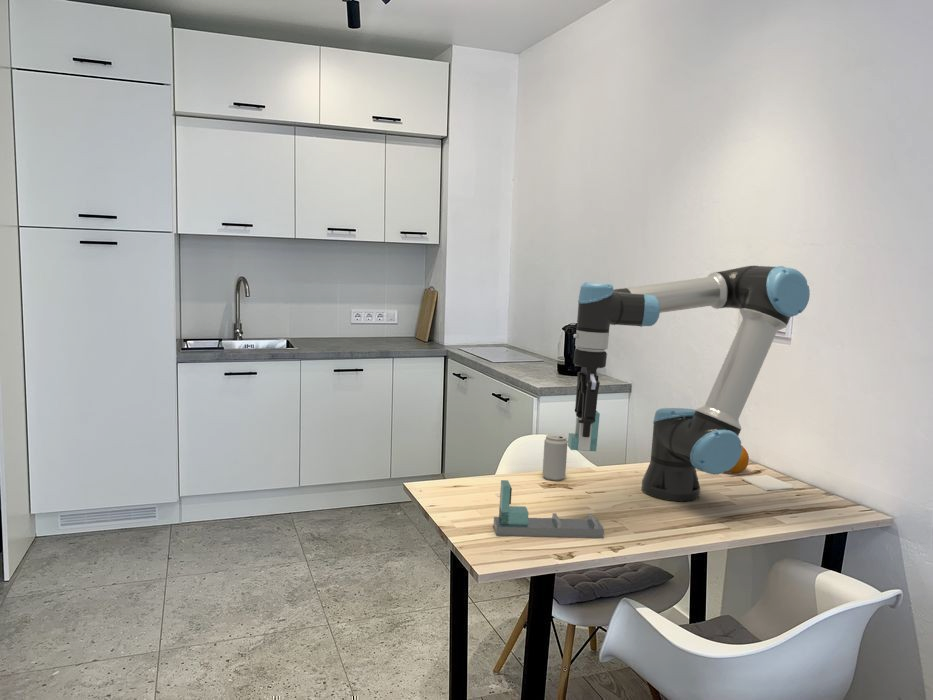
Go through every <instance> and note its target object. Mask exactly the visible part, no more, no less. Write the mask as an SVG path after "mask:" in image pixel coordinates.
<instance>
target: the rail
mask: <svg viewBox="0 0 933 700" xmlns="http://www.w3.org/2000/svg"><path fill="white" fill-rule="evenodd" d="M512 489H513V488H512V486H511V484H510V482H509V480H508V479H507V480H500V493H499V507H498V511H499V512H498V516H494V517H493V525H492V526H493V528H494V533H495V535H496V536H497V537H500V536H502V537H505V536H506V537H541V538H542V537H545V538H546V537H549V538H588V539H589V538H595V539H604V535H605V528H604V527H603V526H602V524H601V522H600V521H599V519H596V518H595V517H594V516H593V514H592V513H589V514H587V518H559V516H558V515H557V513H555V512H554V513H553V512H552V515H551V516H552V517H551V518H549V517H547V518H546V517H529V511H528V507H527V506H520V505H519V506H518V505H517V506H516V505H513V506H512V505H511V504H512V491H513V490H512Z"/></svg>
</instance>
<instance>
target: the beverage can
mask: <svg viewBox="0 0 933 700" xmlns="http://www.w3.org/2000/svg"><path fill="white" fill-rule="evenodd" d="M567 454H568V439H567V436H565V435H563V434H555V433H553V434H552V433H551V434H546V436H545V439H544V445H543V460H542V461H543V463H542V476H543V477H544V479H546V480H549V481H554V482H555V481H556V482H557V481H562V480H563V479H564V478H566V471H567Z"/></svg>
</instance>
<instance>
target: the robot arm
mask: <svg viewBox="0 0 933 700" xmlns="http://www.w3.org/2000/svg"><path fill="white" fill-rule="evenodd" d="M810 291H811V290H810V286H809V285H808V280H807V278H806V277H805V275H804V274H803V273H802V272H801V271H799V270H797V269H795V268H791V267H786V266H783V265H782V266H781V265H780V266H769V265H768V266H767V265H766V266H765V265H760V266H759V265H747V266H742V267H736V268H733V269H732V268H731V269H727V270H722V271H721V270H720V271H715V272H711V273H709V274H708V275H707V277H698V278H692V279H683V280H676V281H669V282H662V283H653V284H645V285H639V286H638V285H637V286H629V287H624V288H615V289H614V286H613V284H611V283H605V282H604V283H601V282H583V283H582V284H581V285H580V289H579V295H578V300H577V302H578V304H577V305H578V306H577V317H576V319H577V320H576V332H575V333H574V334H573V335H572V336H573V338H574V339H575V342H574V343H575V344H574V346H575V347H576V348H574V351H573V352H574V353H573V359H572V360H573V362H572V363H573V365H574V366H577V367H580V371H578V372H577V373H576V375H577V377H576V378H577V379H576V381H577V382H576V393H575V395H576V396H575V407H574V413H575V415H576V418H575V426H574V427H575V428H574V434H579V440H578V450H577V451H581V450H587V451H586V452H591V451H590V443H591V432H592V424H593V423H595V416H596V411H597V404H598V396H599V387H600V383H601V382H600V381H599V375H597V374H598V373H597V370H598V369H603V368H605V367H606V366H607V358H608V352H607V351H606V350H607V349H608V347H609V340H610V326H611V325H613V326H616V325H617V326H631V327H640V328H642V327H652V326H654V325H655V324H657V322H658V321H659V318H660V314H661V313H669V312H675V311H682V310H689V309H696V308H697V309H698V308H705V307H711V308H713V309H717V310H718V309H724V308H727V309H739V312H740V315H741V317H742V320H741V323H740V324H739V327H738V328H737V332H736V333H735V336H734V339H733V340H732V343H731V345H730V347H729V350H728V352H727V354H726V357H725V359H724V361H723V363H722V364H721V368H720V370H719V371H718V374H717V377H716V379H715V382H714V383H713V386H712V387H711V390H710V392H709V395H708V397H707V399H706V402H705V404H704V405H703V406H701V407H699V408H696V409H692V408H681V407H679V408H678V407H663V408H659V409H657V410H656V411H655V413H654V417H653V422H652V423H653V426H652V427H653V430H652V440H651V441H652V442H651V450H650V451H651V454H650V462H649V465H648V467H647V469H646V471H645V474H644V476H643V478H642V481H641V491H642V492H644V493H645V494H646V495H649V496H651V497H654V498H656V499H661V500H666V501H671V502H672V501H673V502H690V501H692V502H693V501H695V500H697V499H699V498H700V493H701V487H700V483H699V477H698V474H697V471H700V472H703V473H706V474H709V475H721V474H724V473H726V471H729V470H730V469H731V468H733V467H734V466H735V465H736V463H737V462H738V461H739V459H740V456H741V453H742V446H743V445H742V440H741V439H740V437H739V435H740V433H741V431H742V427H741V424H740V422H739V418H740V417H741V414H742V412H743V410H744V408H745V406H746V403H747V401H748V398H749V397H750V394H751V391H752V389H753V387H754V386H755V385H754V384H755V382H756V381H757V378H758V376H759V375H760V371H761V369H762V367H763V364H764V362H765V360H766V357H767V355H768V353H769V350H770V349H771V346H772V343H773V341H774V339H775V337H776V335H777V333H778V332H779V331H781V330H783V329H785V328H787V326H788V323H789V322H790V319H791V317H793V318H794V317H795V316H798V315H799V314H802V313H803V312H804V310H805V309H806V308H807V306H808V303H809V300H810V296H811V292H810ZM741 445H742V446H741Z"/></svg>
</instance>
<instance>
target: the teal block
mask: <svg viewBox="0 0 933 700" xmlns="http://www.w3.org/2000/svg"><path fill="white" fill-rule="evenodd" d="M600 416H601V414H600V413H599V411H598V410H596V416H595V423H593V424H592V432H591V443H590V451H589V452H597V446H598V436H599V428H600V427H599V426H600V418H601V417H600ZM578 440H579V434H575V433H568V438H567V442H568V443H567V448H569V450H570V451H579V450H578ZM580 451H582V452H588V451H587V450H580Z"/></svg>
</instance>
